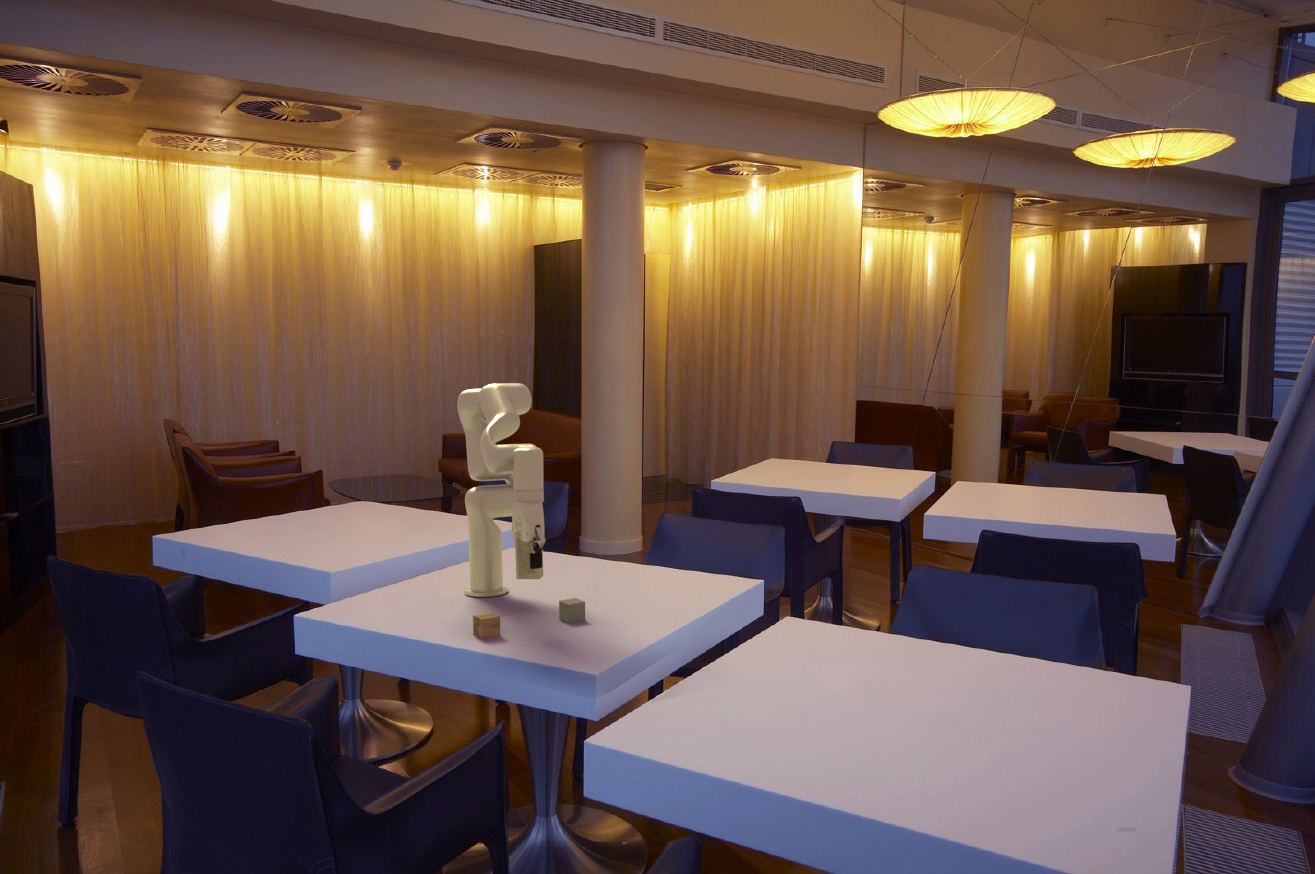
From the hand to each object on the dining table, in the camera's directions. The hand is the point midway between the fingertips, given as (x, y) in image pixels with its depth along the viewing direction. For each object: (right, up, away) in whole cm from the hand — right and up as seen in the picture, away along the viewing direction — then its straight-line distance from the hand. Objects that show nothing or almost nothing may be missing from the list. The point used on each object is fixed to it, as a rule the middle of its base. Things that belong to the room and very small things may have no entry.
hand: (529, 564), depth 229 cm
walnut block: (-10, -17, -6) cm, 20 cm away
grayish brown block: (+10, -16, +8) cm, 20 cm away
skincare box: (0, -4, 0) cm, 4 cm away
